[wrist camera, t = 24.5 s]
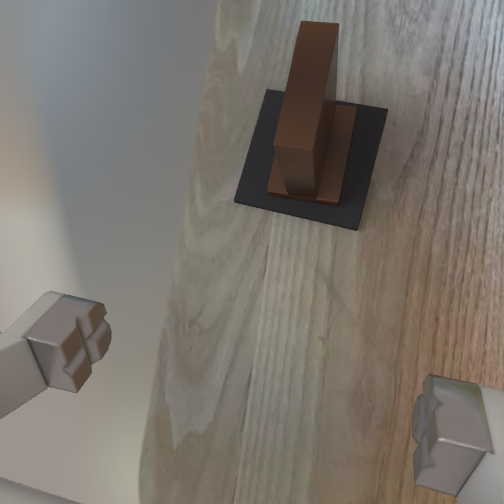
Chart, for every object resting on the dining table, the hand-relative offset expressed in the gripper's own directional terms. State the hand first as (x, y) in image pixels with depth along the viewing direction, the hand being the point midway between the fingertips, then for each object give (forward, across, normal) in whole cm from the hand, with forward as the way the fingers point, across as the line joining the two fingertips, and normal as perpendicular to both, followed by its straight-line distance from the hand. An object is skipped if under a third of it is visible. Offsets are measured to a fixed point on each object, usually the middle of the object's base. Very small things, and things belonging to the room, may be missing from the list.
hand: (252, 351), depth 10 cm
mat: (+22, +2, +4) cm, 22 cm away
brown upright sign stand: (+22, +1, +4) cm, 22 cm away
